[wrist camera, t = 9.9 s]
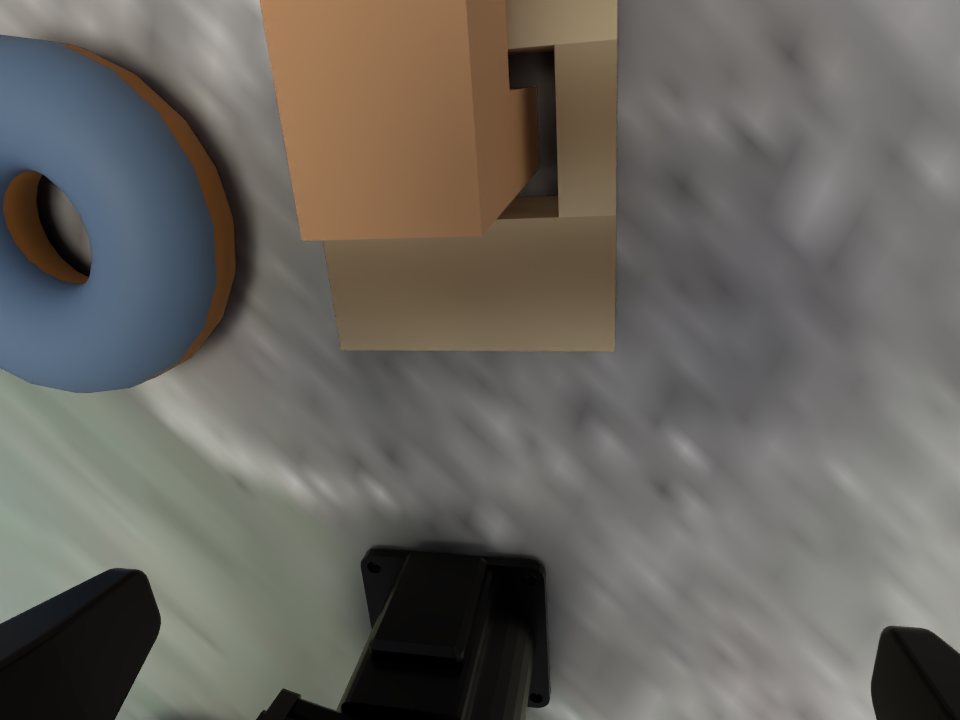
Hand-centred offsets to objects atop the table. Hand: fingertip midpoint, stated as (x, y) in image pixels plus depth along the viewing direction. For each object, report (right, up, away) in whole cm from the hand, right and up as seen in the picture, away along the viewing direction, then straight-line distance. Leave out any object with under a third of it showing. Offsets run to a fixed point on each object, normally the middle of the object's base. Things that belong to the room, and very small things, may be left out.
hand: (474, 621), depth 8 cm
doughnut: (-11, +8, +13) cm, 19 cm away
